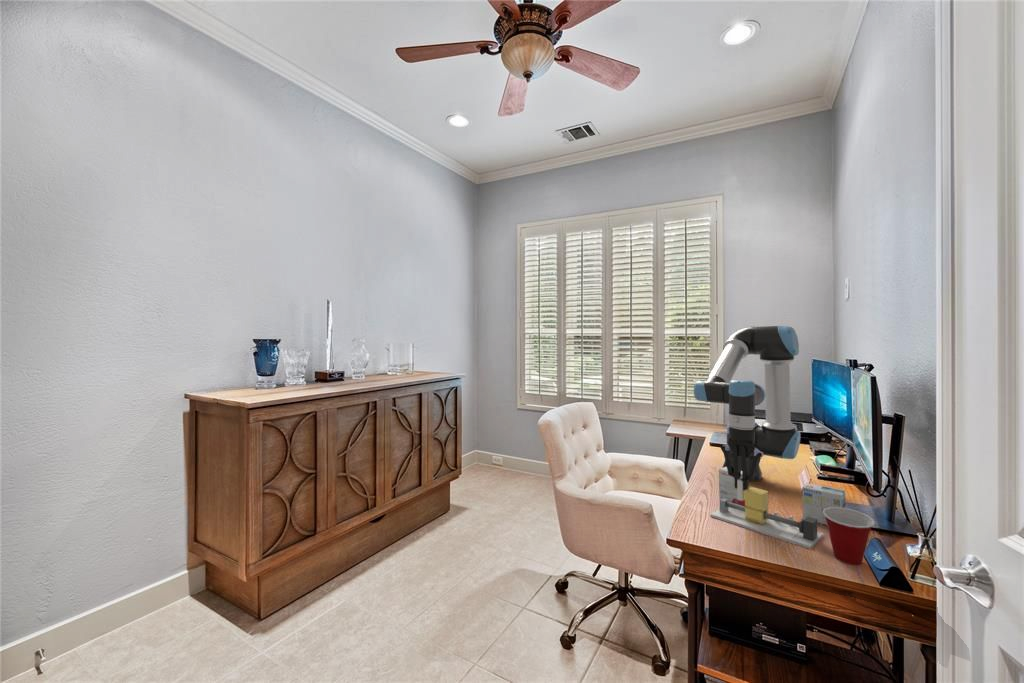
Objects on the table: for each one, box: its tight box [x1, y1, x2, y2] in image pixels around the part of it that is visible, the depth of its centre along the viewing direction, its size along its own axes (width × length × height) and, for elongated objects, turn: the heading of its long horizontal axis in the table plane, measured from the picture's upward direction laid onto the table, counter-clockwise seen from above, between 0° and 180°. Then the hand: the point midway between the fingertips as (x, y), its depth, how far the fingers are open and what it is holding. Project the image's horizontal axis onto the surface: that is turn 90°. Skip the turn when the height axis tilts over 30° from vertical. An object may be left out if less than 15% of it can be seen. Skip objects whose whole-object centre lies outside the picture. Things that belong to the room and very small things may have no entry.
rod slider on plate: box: [710, 498, 824, 550], centre depth 130 cm, size 28×12×6 cm, turn 39°
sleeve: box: [745, 486, 769, 524], centre depth 132 cm, size 5×5×9 cm
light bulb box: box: [802, 482, 846, 526], centre depth 134 cm, size 11×7×11 cm, turn 45°
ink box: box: [718, 466, 745, 506], centre depth 149 cm, size 9×5×12 cm, turn 33°
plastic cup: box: [823, 507, 875, 566], centre depth 110 cm, size 11×11×12 cm
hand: (741, 499), depth 135 cm, fingers closed
